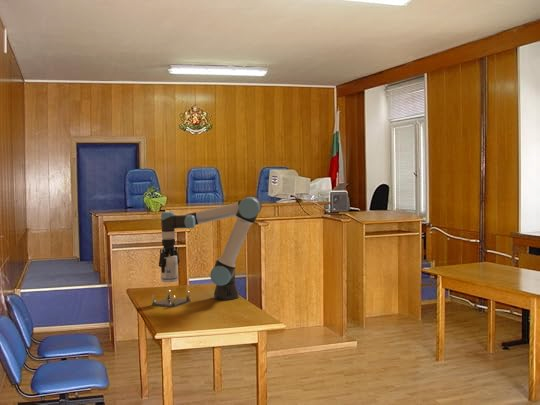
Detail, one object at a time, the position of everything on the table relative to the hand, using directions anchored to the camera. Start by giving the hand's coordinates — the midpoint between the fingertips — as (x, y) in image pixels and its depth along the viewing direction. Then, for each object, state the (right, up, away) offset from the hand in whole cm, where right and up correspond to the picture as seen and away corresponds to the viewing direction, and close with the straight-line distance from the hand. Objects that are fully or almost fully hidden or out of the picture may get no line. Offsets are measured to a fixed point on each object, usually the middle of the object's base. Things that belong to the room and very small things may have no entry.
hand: (169, 276), depth 357 cm
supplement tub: (0, -3, 0) cm, 3 cm away
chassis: (+1, -16, +1) cm, 16 cm away
